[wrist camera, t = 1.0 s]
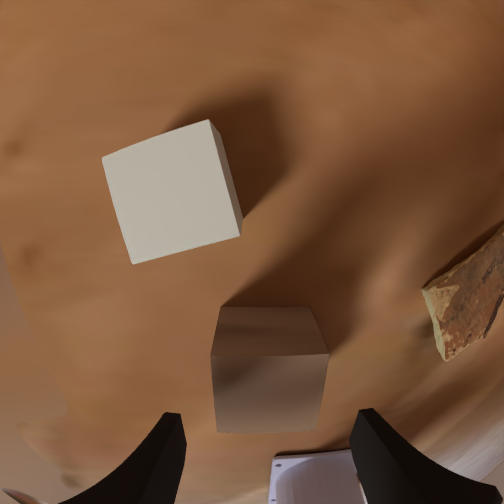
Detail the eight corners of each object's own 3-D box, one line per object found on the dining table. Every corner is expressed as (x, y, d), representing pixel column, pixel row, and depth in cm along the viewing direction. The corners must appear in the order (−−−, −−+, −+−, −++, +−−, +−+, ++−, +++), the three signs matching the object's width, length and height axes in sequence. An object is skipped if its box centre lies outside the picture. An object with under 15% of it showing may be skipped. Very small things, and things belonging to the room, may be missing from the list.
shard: (514, 206, 16) (530, 210, 14) (524, 287, 17) (537, 294, 16) (415, 281, 17) (428, 291, 15) (436, 360, 19) (447, 372, 17)
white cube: (243, 218, 16) (240, 236, 11) (162, 240, 16) (132, 264, 11) (220, 134, 14) (208, 119, 10) (140, 160, 15) (101, 157, 10)
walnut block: (302, 375, 18) (315, 430, 13) (223, 375, 18) (217, 432, 13) (309, 305, 17) (329, 353, 12) (220, 306, 17) (210, 355, 12)
